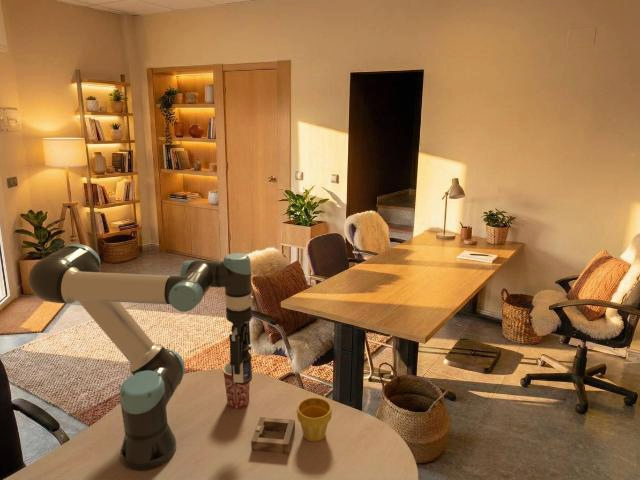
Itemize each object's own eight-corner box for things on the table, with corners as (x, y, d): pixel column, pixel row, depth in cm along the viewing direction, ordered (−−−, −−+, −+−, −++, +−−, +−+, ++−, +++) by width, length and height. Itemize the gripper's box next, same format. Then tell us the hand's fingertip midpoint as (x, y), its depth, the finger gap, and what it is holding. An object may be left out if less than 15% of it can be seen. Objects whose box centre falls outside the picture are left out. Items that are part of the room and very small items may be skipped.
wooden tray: (251, 451, 143) (251, 440, 142) (260, 426, 153) (260, 416, 152) (288, 454, 142) (288, 443, 140) (295, 429, 152) (294, 419, 151)
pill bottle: (255, 381, 148) (254, 349, 145) (236, 387, 145) (235, 354, 142) (247, 372, 153) (246, 340, 150) (228, 377, 150) (227, 345, 147)
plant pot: (327, 448, 144) (328, 420, 141) (293, 443, 146) (293, 415, 143) (333, 425, 154) (334, 399, 151) (302, 421, 156) (301, 395, 153)
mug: (249, 411, 161) (248, 375, 157) (222, 410, 161) (220, 374, 157) (255, 388, 173) (253, 354, 169) (229, 388, 173) (227, 354, 169)
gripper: (242, 321, 132) (245, 395, 139) (259, 293, 151) (261, 360, 157) (215, 319, 133) (219, 392, 140) (235, 292, 151) (238, 358, 158)
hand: (241, 375), depth 149 cm, fingers closed on pill bottle, 6 cm apart
